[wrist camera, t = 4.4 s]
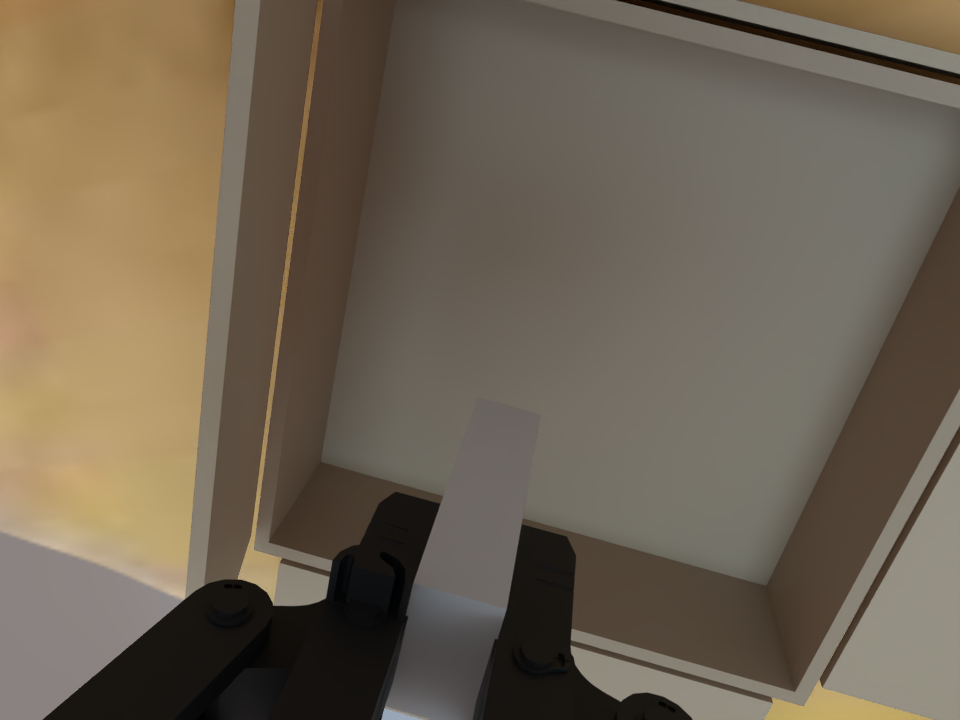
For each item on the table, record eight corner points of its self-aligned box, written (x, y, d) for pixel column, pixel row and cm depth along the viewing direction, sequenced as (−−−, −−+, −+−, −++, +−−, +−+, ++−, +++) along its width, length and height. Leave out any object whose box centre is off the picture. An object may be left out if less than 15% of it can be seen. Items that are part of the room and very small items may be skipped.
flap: (320, -28, 20) (304, -32, 20) (262, -25, 13) (238, -31, 13) (251, 535, 28) (239, 533, 28) (190, 726, 21) (174, 724, 21)
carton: (395, -75, 25) (336, -99, 20) (1212, 126, 24) (1386, 159, 19) (294, 568, 36) (238, 665, 31) (851, 726, 35) (895, 857, 30)
